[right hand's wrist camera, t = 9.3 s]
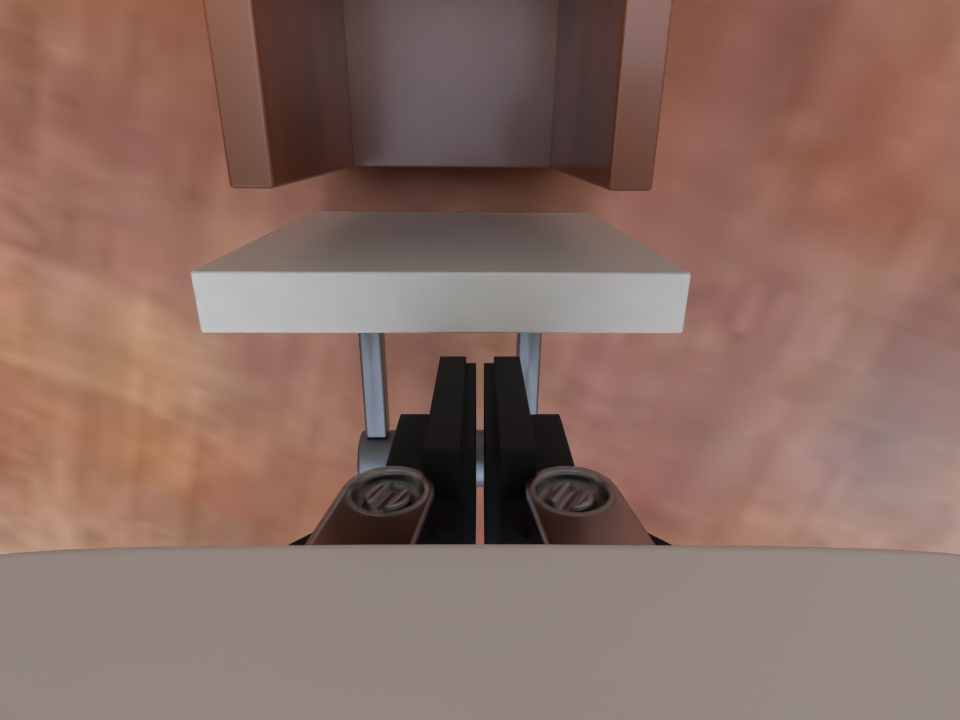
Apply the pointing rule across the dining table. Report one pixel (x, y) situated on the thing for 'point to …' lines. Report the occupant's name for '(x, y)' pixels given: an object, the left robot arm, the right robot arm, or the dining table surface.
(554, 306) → the drawer
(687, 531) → the dining table surface
